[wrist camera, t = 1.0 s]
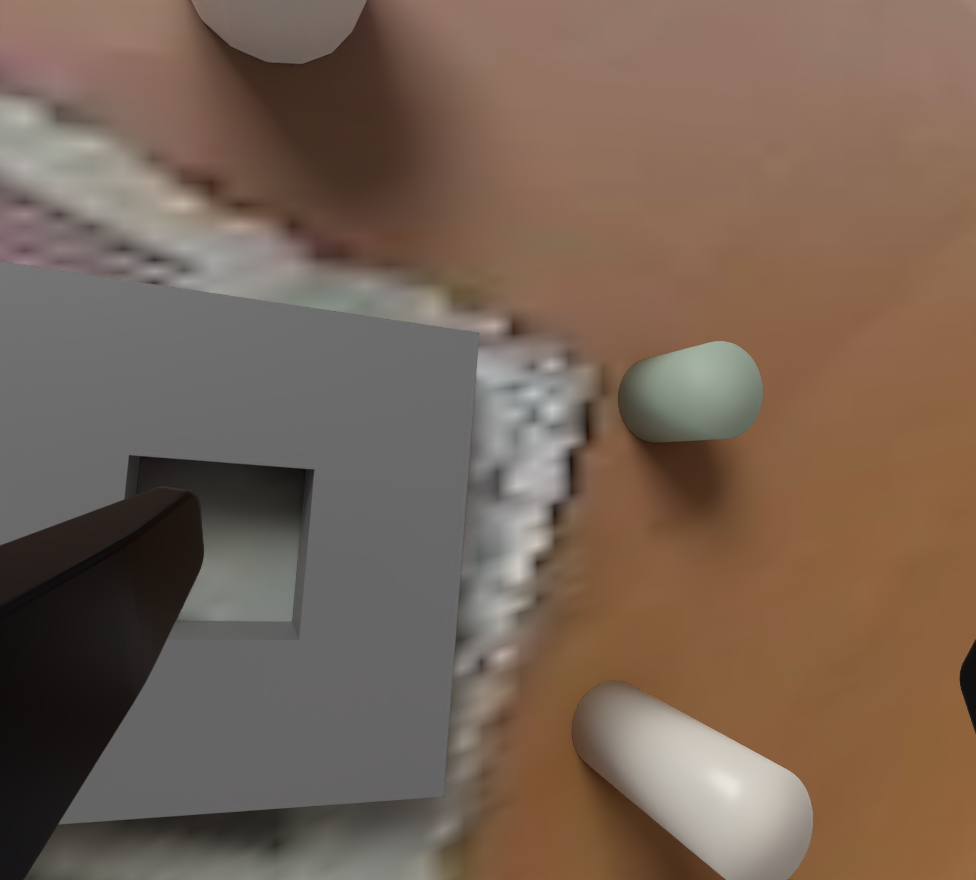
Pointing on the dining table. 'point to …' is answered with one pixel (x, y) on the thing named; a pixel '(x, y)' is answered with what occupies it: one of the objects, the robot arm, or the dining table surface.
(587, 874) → the dining table surface
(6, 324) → the hole plate
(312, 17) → the shot glass
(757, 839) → the long pin
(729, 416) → the short pin
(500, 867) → the dining table surface
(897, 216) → the dining table surface
